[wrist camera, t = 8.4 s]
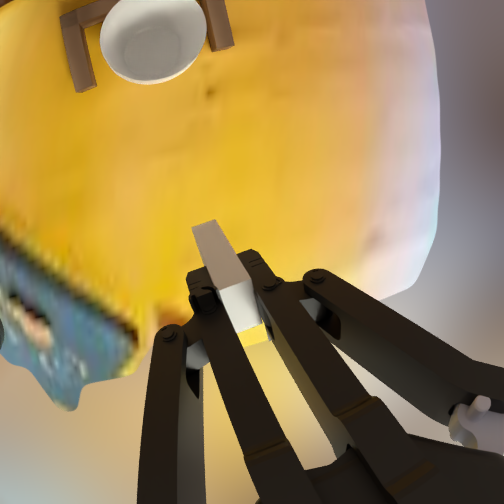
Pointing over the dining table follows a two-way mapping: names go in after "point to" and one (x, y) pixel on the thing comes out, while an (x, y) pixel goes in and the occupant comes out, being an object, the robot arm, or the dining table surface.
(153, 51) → the cup
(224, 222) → the dining table surface
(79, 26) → the walnut pocket
